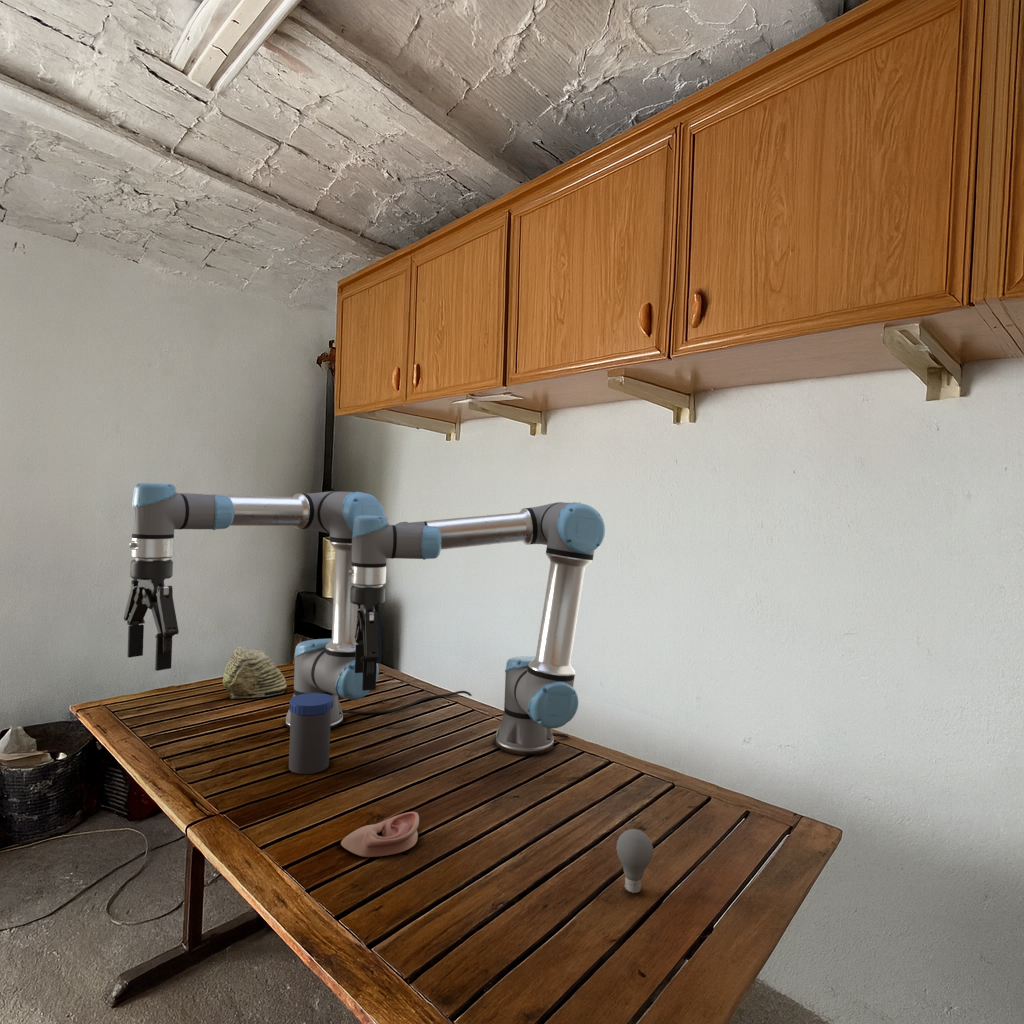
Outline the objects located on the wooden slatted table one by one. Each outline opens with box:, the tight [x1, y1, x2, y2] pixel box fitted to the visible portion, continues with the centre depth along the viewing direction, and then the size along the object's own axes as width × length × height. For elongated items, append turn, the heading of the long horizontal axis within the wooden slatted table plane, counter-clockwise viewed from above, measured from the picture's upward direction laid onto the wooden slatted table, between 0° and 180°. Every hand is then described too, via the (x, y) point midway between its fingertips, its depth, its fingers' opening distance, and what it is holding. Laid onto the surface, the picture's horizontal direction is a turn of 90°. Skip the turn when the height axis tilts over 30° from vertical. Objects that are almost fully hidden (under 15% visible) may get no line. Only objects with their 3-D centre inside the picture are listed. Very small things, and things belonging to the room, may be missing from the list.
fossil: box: [222, 646, 288, 699], centre depth 198 cm, size 9×18×15 cm, turn 132°
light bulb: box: [615, 828, 654, 894], centre depth 106 cm, size 6×6×10 cm
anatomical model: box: [340, 811, 420, 858], centre depth 117 cm, size 13×4×12 cm
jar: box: [288, 710, 331, 775], centre depth 149 cm, size 9×9×15 cm
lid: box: [288, 693, 333, 715], centre depth 148 cm, size 10×10×2 cm
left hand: (148, 662), depth 129 cm, fingers open, 13 cm apart
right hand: (364, 680), depth 140 cm, fingers open, 13 cm apart
